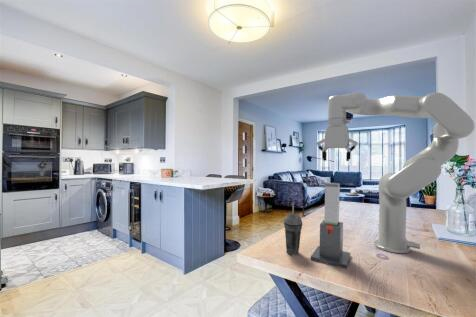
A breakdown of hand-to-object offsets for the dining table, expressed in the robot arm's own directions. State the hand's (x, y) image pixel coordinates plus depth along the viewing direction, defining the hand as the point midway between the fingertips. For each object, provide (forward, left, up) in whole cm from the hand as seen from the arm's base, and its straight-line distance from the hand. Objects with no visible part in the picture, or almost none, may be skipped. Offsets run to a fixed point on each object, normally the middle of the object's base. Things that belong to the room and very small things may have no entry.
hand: (336, 160), depth 105 cm
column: (-2, +21, -29) cm, 36 cm away
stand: (-2, +21, -36) cm, 42 cm away
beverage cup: (+12, +24, -36) cm, 45 cm away
